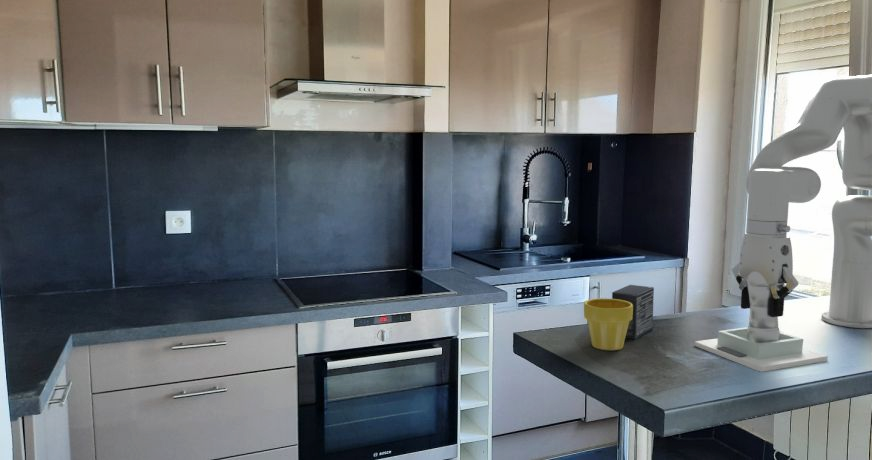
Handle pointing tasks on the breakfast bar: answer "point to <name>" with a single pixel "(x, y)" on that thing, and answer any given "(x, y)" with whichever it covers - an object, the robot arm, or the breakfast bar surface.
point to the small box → (638, 308)
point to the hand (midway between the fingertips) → (761, 311)
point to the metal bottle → (761, 311)
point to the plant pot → (608, 322)
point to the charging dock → (761, 350)
